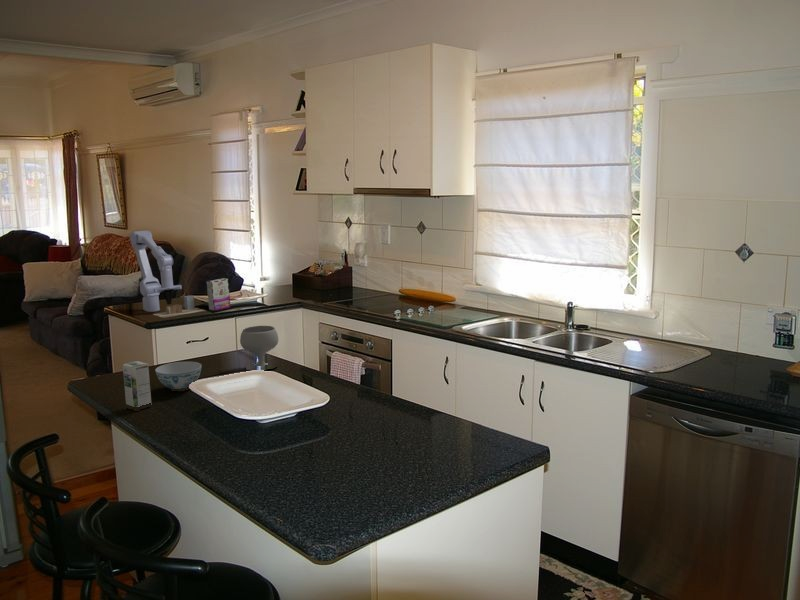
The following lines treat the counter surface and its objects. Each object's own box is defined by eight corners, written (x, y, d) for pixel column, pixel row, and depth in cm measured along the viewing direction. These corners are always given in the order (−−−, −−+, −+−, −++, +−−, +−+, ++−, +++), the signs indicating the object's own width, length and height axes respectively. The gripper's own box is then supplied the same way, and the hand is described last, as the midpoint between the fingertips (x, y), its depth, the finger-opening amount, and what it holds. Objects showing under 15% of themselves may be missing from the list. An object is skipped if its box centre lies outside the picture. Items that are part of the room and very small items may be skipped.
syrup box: (125, 409, 220) (121, 364, 217) (142, 403, 225) (138, 360, 222) (135, 412, 216) (131, 367, 214) (152, 407, 221) (148, 362, 218)
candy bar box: (225, 307, 386) (222, 278, 383) (230, 308, 383) (228, 278, 380) (208, 311, 377) (206, 280, 374) (214, 311, 374) (211, 281, 371)
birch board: (152, 315, 369) (151, 314, 368) (194, 308, 384) (194, 307, 384) (163, 319, 358) (163, 317, 358) (206, 312, 374) (206, 310, 374)
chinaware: (165, 399, 229) (163, 376, 227) (151, 388, 241) (149, 366, 239) (209, 389, 237) (208, 367, 236) (194, 380, 249) (192, 359, 248)
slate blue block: (184, 309, 380) (183, 296, 379) (191, 308, 383) (190, 295, 381) (187, 310, 377) (186, 297, 376) (194, 308, 380) (193, 296, 378)
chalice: (275, 361, 271) (273, 323, 268) (283, 370, 258) (281, 330, 256) (239, 366, 266) (236, 327, 263) (245, 375, 253) (242, 335, 251)
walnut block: (165, 306, 368) (178, 304, 373) (166, 313, 369) (179, 311, 374) (169, 306, 366) (181, 305, 370) (169, 314, 366) (182, 312, 371)
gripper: (156, 281, 357) (159, 307, 360) (183, 277, 367) (185, 303, 369) (150, 279, 362) (153, 305, 365) (177, 276, 372) (179, 301, 374)
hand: (169, 304), depth 367 cm, fingers closed
